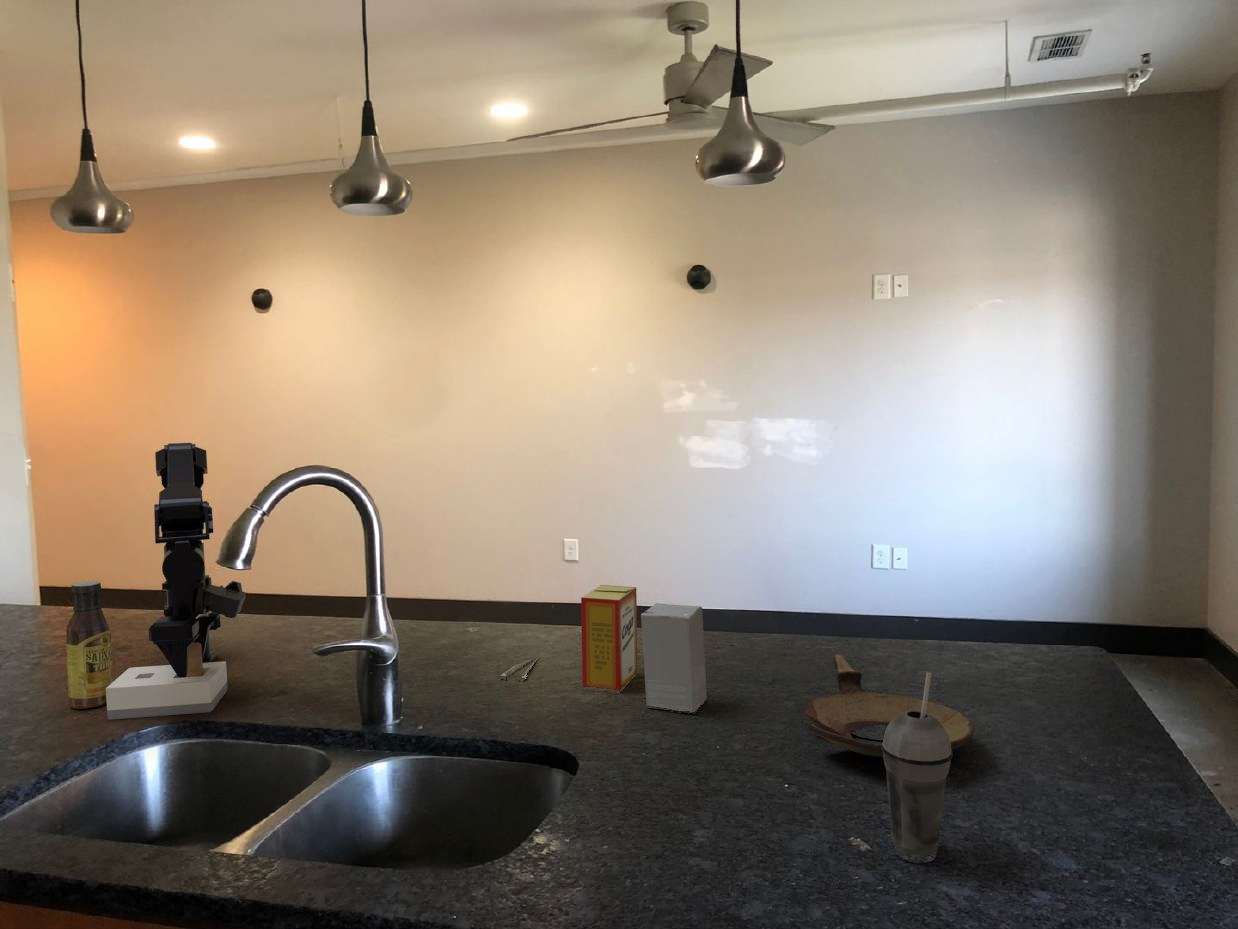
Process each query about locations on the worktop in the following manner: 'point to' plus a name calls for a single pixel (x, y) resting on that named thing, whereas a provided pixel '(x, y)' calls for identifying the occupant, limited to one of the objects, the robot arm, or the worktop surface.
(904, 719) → the beverage cup
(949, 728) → the oil lamp
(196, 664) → the oak peg
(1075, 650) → the worktop surface
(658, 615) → the skincare box
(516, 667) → the tweezers
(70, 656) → the sauce bottle
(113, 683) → the hole block
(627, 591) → the baking soda box
